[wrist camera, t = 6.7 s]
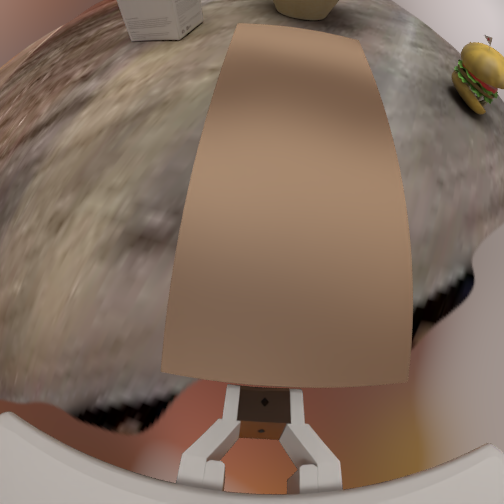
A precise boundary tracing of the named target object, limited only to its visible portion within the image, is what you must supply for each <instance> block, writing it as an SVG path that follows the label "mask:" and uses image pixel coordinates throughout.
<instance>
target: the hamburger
mask: <svg viewBox="0 0 504 504" xmlns="http://www.w3.org/2000/svg"><path fill="white" fill-rule="evenodd" d="M485 37H486V39H487V41H488V43H489V44H490V45H491V42H492V38H491V37H488V36H486V35H485ZM461 58H462V60H458V61H459V63H458V66H456V67H454V68H455V69H454V70H455V71H454V72H453V73H452V81H453V84H454V86H455V88H456V90H457V91H458V93H459V94H460V96H461V97H462V99H463V100H464V101H465V103H466V104H467V105H468V106H469V107H470V108H471V109H472V110H473V111H474V112H475V113H477V114H484V113H485V112H486V111H485V109H484V106H485V105H486V104H487V103H488V102H489V103H490V104H491V101H492V102H493V98H494V97H495V98H497V96H498V94H497V93H498V92H497V88H500V89H504V57H503V56H502V55H501V54H500V53H499V52H498V51H496V50H495V49H494V48H492V47H490V46H488V45H485V44H482V43H479V42H478V43H475V42H474V43H471V42H470V43H469V44H467V45H466V46H465V47H464V48H463V49H462V52H461ZM458 72H459V73H458ZM470 87H471V88H470ZM475 93H476V94H477V96H475ZM482 96H484V100H482V101H479V100H480V99H481V98H482Z"/></svg>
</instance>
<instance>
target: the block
mask: <svg viewBox="0 0 504 504" xmlns="http://www.w3.org/2000/svg"><path fill="white" fill-rule="evenodd" d="M412 320H413V280H412V259H411V245H410V234H409V225H408V217H407V209H406V202H405V196H404V190H403V184H402V178H401V173H400V168H399V163H398V159H397V154H396V150H395V146H394V142H393V138H392V134H391V130H390V126H389V123H388V119H387V116H386V113H385V109H384V106H383V103H382V100H381V97H380V94H379V91H378V88H377V85H376V82H375V79H374V77H373V74H372V71H371V69H370V66H369V64H368V61H367V59H366V56H365V54H364V52H363V49H362V47H361V45H360V43H359V40H355V39H351V38H347V37H343V36H339V35H334V34H329V33H324V32H319V31H314V30H308V29H301V28H294V27H286V26H276V25H264V24H244V23H238V24H237V27H236V29H235V32H234V35H233V37H232V40H231V43H230V45H229V48H228V51H227V54H226V57H225V60H224V62H223V65H222V68H221V71H220V74H219V77H218V81H217V84H216V87H215V90H214V93H213V96H212V100H211V103H210V106H209V110H208V113H207V117H206V120H205V124H204V128H203V131H202V135H201V139H200V142H199V146H198V150H197V154H196V158H195V162H194V166H193V170H192V175H191V179H190V183H189V188H188V192H187V197H186V201H185V206H184V211H183V216H182V221H181V226H180V231H179V237H178V242H177V248H176V254H175V260H174V266H173V272H172V278H171V285H170V292H169V299H168V307H167V315H166V323H165V332H164V341H163V351H162V363H161V372H165V373H170V374H175V375H181V376H187V377H193V378H199V379H206V380H213V381H221V382H229V383H238V384H249V385H261V386H279V387H308V388H312V387H313V388H314V387H315V388H316V387H317V388H324V387H356V386H372V385H384V384H394V383H403V382H407V381H408V373H409V365H410V354H411V341H412Z"/></svg>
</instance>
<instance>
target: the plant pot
mask: <svg viewBox="0 0 504 504" xmlns="http://www.w3.org/2000/svg"><path fill="white" fill-rule="evenodd" d="M338 1H339V0H273V2H274V4H275V7H276V9H277V11H278V12H280V13H281V14H283V15H286V16H289V17H293V18H298V19H304V20H321V19H324V18H325V17H326V16H327V15H328V14H329V12H330V11H331V10H332V9H333V7H334V6H335V5H336V3H337V2H338Z"/></svg>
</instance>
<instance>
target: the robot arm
mask: <svg viewBox="0 0 504 504" xmlns="http://www.w3.org/2000/svg"><path fill="white" fill-rule="evenodd" d="M239 394H240V395H239ZM238 438H256V439H271V440H279V442H280V443H281V445H282V446H283V448H284V449H285V451H286V453H287V454H288V456H289V457H290V459H291V460H292V462H293V463H294V464H295V466H296V468H297V469H298V470H297V471H296V472H295V473H294V474H293V475H292V476H291V477H290V478H289V479H288V480H287V494H248V493H235V492H225V491H224V483H225V464H224V463H223V462H222V461H220V460H221V459H222V457H223V456H224V455H225V454H226V453H227V452H228V451H229V449H230V448H231V447H232V446H233V445H234V444H235V442H236V441H237V440H238ZM0 504H504V453H503V452H502V451H501V450H500V449H499V448H497V447H496V446H495V445H493V444H491V443H486V444H484V445H482V446H480V447H478V448H476V449H474V450H472V451H470V452H468V453H466V454H464V455H461V456H459V457H457V458H455V459H452V460H450V461H447V462H445V463H443V464H440V465H438V466H435V467H432V468H429V469H426V470H423V471H421V472H417V473H415V474H411V475H408V476H405V477H401V478H397V479H394V480H390V481H386V482H381V483H378V484H372V485H368V486H362V487H357V488H351V489H344V490H343V488H342V477H341V466H340V461H339V460H338V459H337V457H336V456H335V455H334V454H333V453H332V452H331V450H330V449H329V448H328V447H327V446H326V445H325V443H324V442H323V441H322V440H321V439H320V438H319V436H318V435H317V434H316V433H315V431H314V430H313V429H312V428H311V426H310V425H309V424H305V418H304V405H303V392H302V390H301V389H289V388H262V387H249V386H240V385H231V384H228V385H227V390H226V396H225V403H224V411H223V417H222V419H218V420H217V421H216V422H215V423H214V424H213V425H212V426H211V427H210V428H209V429H208V430H207V431H206V432H205V433H204V434H203V435H202V436H201V437H200V438H199V439H198V440H197V441H196V442H194V443H193V444H192V445H191V446H190V447H189V448H188V449H187V450H186V451H185V452H184V453H183V454H182V457H181V462H180V467H179V471H178V476H177V481H176V483H172V482H167V481H163V480H159V479H156V478H152V477H148V476H145V475H141V474H138V473H135V472H132V471H129V470H126V469H123V468H120V467H117V466H114V465H112V464H109V463H107V462H104V461H102V460H99V459H97V458H94V457H92V456H89V455H87V454H85V453H83V452H81V451H79V450H76V449H74V448H72V447H70V446H68V445H66V444H64V443H62V442H60V441H59V440H57V439H55V438H53V437H51V436H49V435H48V434H46V433H44V432H42V431H41V430H39V429H37V428H36V427H34V426H33V425H31V424H29V423H28V422H26V421H25V420H23V419H22V418H20V417H19V416H17V415H16V414H14V413H12V412H5V413H2V414H0Z"/></svg>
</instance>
